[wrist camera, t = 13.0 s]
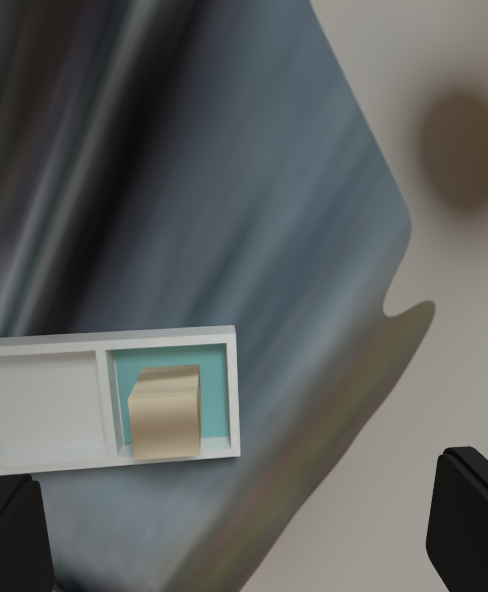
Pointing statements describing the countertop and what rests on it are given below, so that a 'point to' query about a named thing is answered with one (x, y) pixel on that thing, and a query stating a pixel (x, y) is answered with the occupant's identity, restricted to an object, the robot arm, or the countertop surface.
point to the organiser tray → (106, 395)
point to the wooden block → (166, 412)
